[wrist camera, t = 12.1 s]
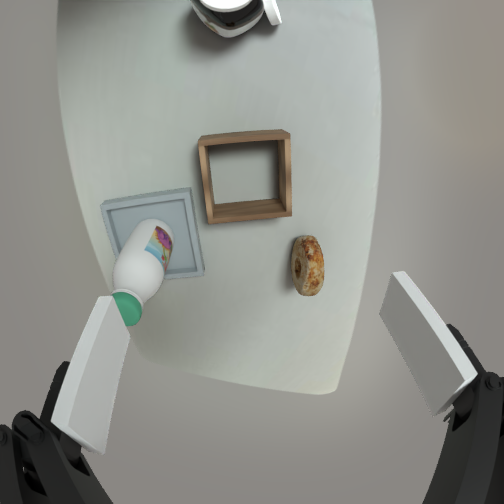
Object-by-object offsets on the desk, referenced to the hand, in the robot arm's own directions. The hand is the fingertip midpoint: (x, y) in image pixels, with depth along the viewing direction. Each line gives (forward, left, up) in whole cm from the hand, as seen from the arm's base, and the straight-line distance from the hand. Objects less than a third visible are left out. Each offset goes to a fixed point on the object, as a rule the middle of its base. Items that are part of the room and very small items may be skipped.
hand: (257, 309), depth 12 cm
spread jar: (-24, +3, -36) cm, 43 cm away
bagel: (+19, +11, -36) cm, 42 cm away
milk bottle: (+12, -15, -35) cm, 40 cm away
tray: (+13, -15, -35) cm, 40 cm away
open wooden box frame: (+3, +2, -35) cm, 35 cm away
